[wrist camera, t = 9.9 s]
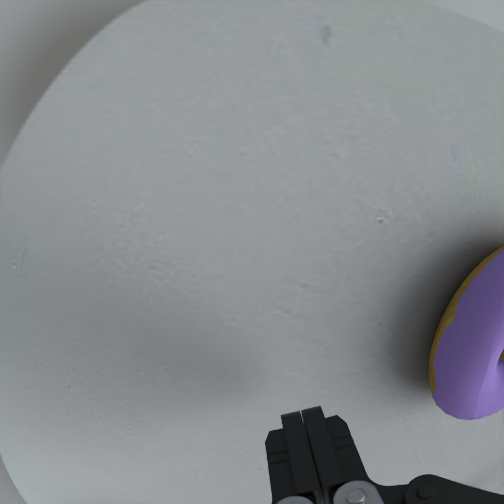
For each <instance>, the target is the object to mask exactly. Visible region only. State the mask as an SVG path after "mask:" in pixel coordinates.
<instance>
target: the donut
mask: <svg viewBox="0 0 504 504" xmlns="http://www.w3.org/2000/svg"><path fill="white" fill-rule="evenodd" d="M429 381H430V386H431V391H432V393H433V398H434V400H435V402H436V404H437V406H438V407H440V408H441V409H442V410H443V411H444V412H445V413H446V414H449V415H451V416H453V417H455V418H458V419H466V420H473V419H480V418H483V417H486V416H489V415H492V414H494V413H496V412H498V411H499V410H501V409H502V408H504V246H503V247H501V248H500V249H498V250H496V251H495V252H493V253H492V254H491V255H489V256H488V257H487V258H485V259H484V260H483V261H482V262H481V263H480V264H479V265H478V266H476V267H475V268H474V269H473V270H472V271H471V273H470V274H469V275H468V277H467V278H466V279H465V280H464V282H463V283H462V284H461V286H460V287H459V289H458V290H457V291H456V293H455V294H454V296H453V297H452V299H451V301H450V303H449V305H448V307H447V309H446V310H445V312H444V314H443V316H442V318H441V321H440V323H439V326H438V328H437V330H436V333H435V336H434V340H433V344H432V348H431V353H430V358H429Z"/></svg>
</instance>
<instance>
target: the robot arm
mask: <svg viewBox="0 0 504 504" xmlns="http://www.w3.org/2000/svg"><path fill="white" fill-rule="evenodd" d="M301 412H302V417H301V413H300V411H297V412H293V413H288V414H283V415H281V420H282V425H283V428H282V429H278V430H272V431H269V434H268V436H267V439H266V441H265V445H266V453H267V461H268V469H269V476H270V484H271V491H272V504H322V503H323V504H504V495H501V494H497V493H493V492H489V491H485V490H481V489H478V488H474V487H471V486H467V485H464V484H461V483H457V482H454V481H451V480H448V479H445V478H442V477H439V476H436V475H431V474H426V475H421V476H418V477H416V478H414V479H413V480H412V481H410V482H409V484H406V485H396V486H382V485H379V484H376V483H374V482H373V481H372V480H371V479H370V478H369V477H368V476H367V474H366V471H365V468H364V466H363V463H362V461H361V458H360V456H359V453H358V451H357V448H356V446H355V444H354V441H353V438H352V436H351V433H350V431H349V428H348V426H347V423H346V422H345V421H343V420H342V419H341V418H340V417H339V416H338V415H335V416H332V417H328V418H325V417H324V414H323V411H322V409H321V406H317V407H313V408H309V409H305V410H301ZM302 418H303V421H302ZM303 424H304V425H303Z"/></svg>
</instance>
